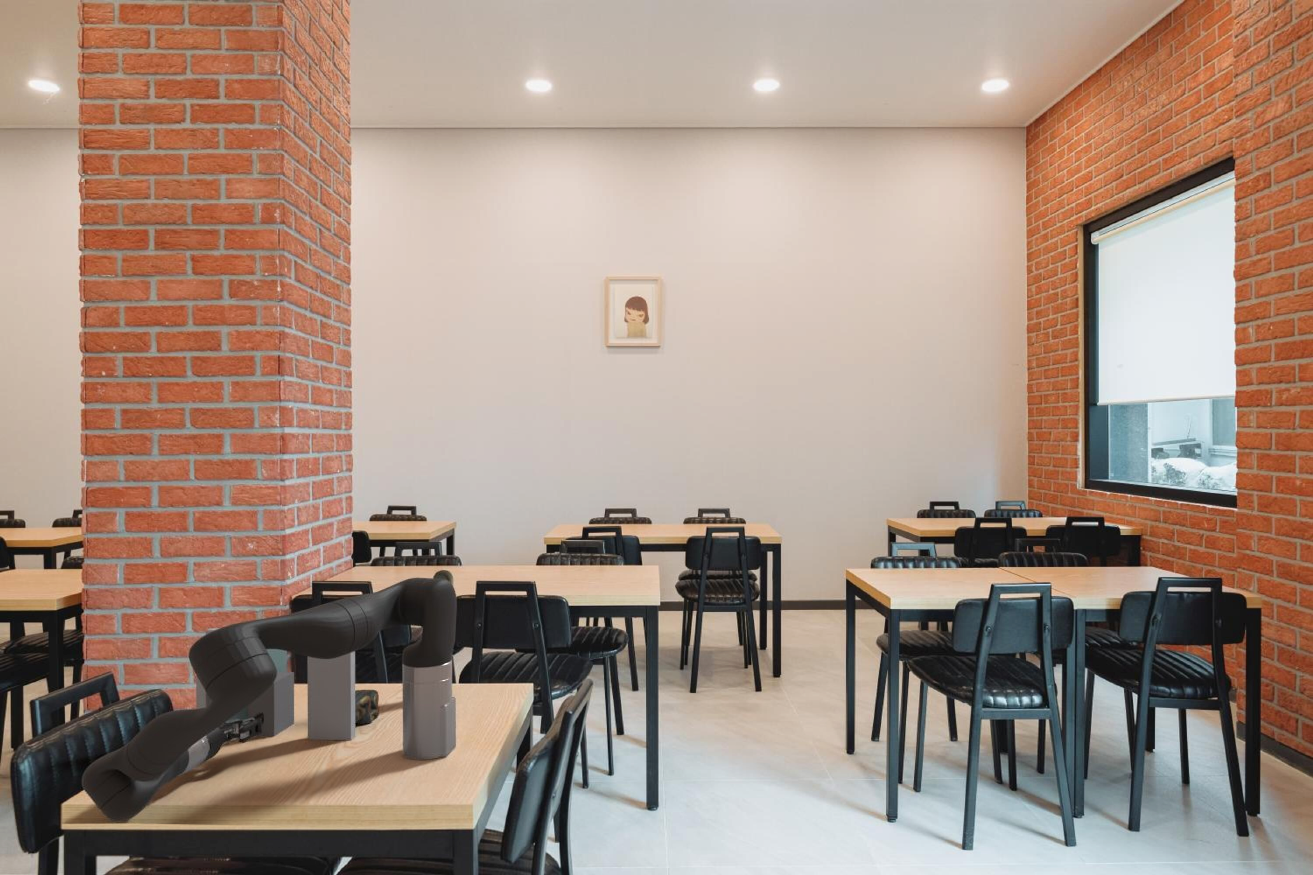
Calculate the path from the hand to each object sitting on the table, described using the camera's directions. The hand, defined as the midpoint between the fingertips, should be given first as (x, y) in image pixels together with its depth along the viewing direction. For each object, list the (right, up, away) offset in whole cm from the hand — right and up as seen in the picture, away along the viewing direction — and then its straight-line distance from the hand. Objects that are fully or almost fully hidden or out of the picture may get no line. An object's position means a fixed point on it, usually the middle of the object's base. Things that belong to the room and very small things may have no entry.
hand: (241, 717), depth 158 cm
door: (-5, -6, +13) cm, 16 cm away
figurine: (+30, -7, +33) cm, 45 cm away
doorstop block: (+1, -7, +11) cm, 13 cm away
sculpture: (+17, -7, +14) cm, 23 cm away
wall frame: (+4, -6, +7) cm, 10 cm away
